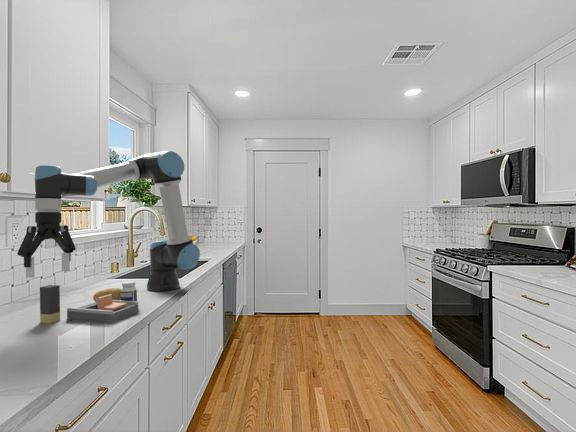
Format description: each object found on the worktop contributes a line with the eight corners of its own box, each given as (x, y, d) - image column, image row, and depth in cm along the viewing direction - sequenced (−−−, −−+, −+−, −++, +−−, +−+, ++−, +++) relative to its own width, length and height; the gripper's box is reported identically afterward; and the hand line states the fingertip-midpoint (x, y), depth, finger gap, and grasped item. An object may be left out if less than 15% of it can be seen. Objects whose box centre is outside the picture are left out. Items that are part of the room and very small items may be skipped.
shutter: (111, 304, 137) (110, 294, 137) (127, 305, 135) (126, 294, 135) (96, 309, 130) (96, 298, 130) (113, 310, 128) (112, 299, 128)
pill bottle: (130, 305, 148) (129, 280, 148) (140, 306, 146) (140, 281, 146) (117, 308, 143) (117, 282, 143) (127, 310, 141) (127, 284, 141)
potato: (124, 304, 150) (124, 288, 150) (93, 307, 145) (93, 291, 145) (123, 300, 156) (123, 285, 156) (93, 304, 151) (93, 288, 151)
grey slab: (97, 309, 142) (97, 299, 142) (138, 312, 138) (138, 301, 138) (67, 319, 129) (67, 308, 129) (110, 323, 124) (110, 311, 124)
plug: (50, 319, 130) (50, 284, 129) (60, 320, 128) (59, 285, 128) (40, 322, 126) (39, 287, 126) (49, 323, 125) (49, 287, 125)
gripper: (70, 211, 140) (70, 268, 140) (3, 211, 116) (3, 279, 116) (86, 211, 138) (86, 269, 138) (22, 211, 114) (22, 280, 114)
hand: (48, 274), depth 127 cm, fingers open, 13 cm apart
